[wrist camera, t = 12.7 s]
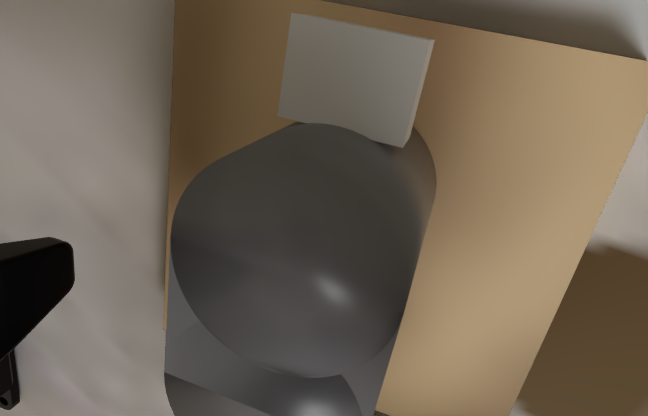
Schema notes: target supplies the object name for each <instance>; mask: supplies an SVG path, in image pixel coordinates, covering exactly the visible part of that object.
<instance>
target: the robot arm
mask: <svg viewBox="0 0 648 416" xmlns="http://www.w3.org/2000/svg"><path fill="white" fill-rule="evenodd" d="M74 281H75V273H74V256H73V248H72V246H71V245H70V244H69V243H67V242H65V241H62V240H59V239H56V238H53V237H46V238H38V239H31V240H24V241H16V242H9V243H2V244H0V407H1V408H3V409H6V410H11V409H12V408H13V407H14V406H16V405H17V404H18V403H19V402H20V396H19V389H18V381H17V373H16V366H15V358H14V350H13V349H14V348H15V347H16V346H17V345H18V344H19V343H20V342H21V341H22V340H23V339H24V338H25V337H26V336H27V335H28V334H29V333H30V332H31V331H32V330H33V329H34V328H35V326H36V325H37V324H38V323H39V322H40V321H41V320H42V319H43V318H44V317H45V316H46V315H47V314H48V313H49V312H50V311H51V310H52V309H53V308H54V307H55V306H56V305H57V304H58V303H59V302H60V301H61V300H62V299H63V298H64V297H65V296H66V294H67V293H68V292H69V291H70V290H71V288H72V287H73V284H74Z"/></svg>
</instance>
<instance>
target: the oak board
mask: <svg viewBox="0 0 648 416" xmlns="http://www.w3.org/2000/svg"><path fill="white" fill-rule="evenodd" d="M291 13H298V14H307V15H313V16H318V17H323V18H328V19H333V20H338V21H343V22H348V23H353V24H358V25H363V26H368V27H373V28H378V29H383V30H388V31H393V32H398V33H403V34H408V35H413V36H418V37H423V38H428V39H433V40H435V41H434V45H433V49H432V53H431V57H430V61H429V65H428V68H427V72H426V76H425V80H424V84H423V88H422V92H421V96H420V99H419V103H418V107H417V111H416V115H415V119H414V123H413V127H414V128H415V129H416V130H417V131H418V132H419V134H420V135H421V137H422V138H423V139H424V141H425V142H426V144H427V146H428V148H429V150H430V152H431V155H432V158H433V161H434V165H435V170H436V181H437V184H436V194H435V199H434V203H433V207H432V211H431V214H430V218H429V222H428V226H427V229H426V233H425V237H424V240H423V244H422V248H421V252H420V255H419V259H418V263H417V266H416V270H415V274H414V278H413V281H412V285H411V289H410V292H409V296H408V300H407V304H406V307H405V311H404V315H403V318H402V321H401V325H400V328H399V331H398V335H397V338H396V341H395V345H394V348H393V351H392V355H391V358H390V361H389V365H388V368H387V371H386V375H385V378H384V381H383V385H382V388H381V391H380V394H379V398H378V401H377V404H376V408H375V410H376V411H379V412H382V413H384V414H387V415H389V416H509V414H510V412H511V409H512V407H513V405H514V403H515V401H516V398H517V396H518V394H519V392H520V390H521V388H522V385H523V383H524V381H525V379H526V377H527V374H528V372H529V370H530V368H531V366H532V363H533V361H534V359H535V357H536V355H537V353H538V350H539V348H540V346H541V344H542V341H543V340H544V337H545V335H546V333H547V331H548V329H549V326H550V324H551V322H552V320H553V318H554V316H555V313H556V311H557V309H558V307H559V305H560V303H561V300H562V298H563V296H564V293H565V292H566V289H567V287H568V285H569V283H570V280H571V279H572V276H573V274H574V272H575V270H576V267H577V265H578V263H579V261H580V259H581V257H582V255H583V252H584V250H585V248H586V246H587V244H588V242H589V239H590V237H591V235H592V233H593V231H594V228H595V226H596V224H597V222H598V220H599V218H600V215H601V213H602V211H603V209H604V207H605V204H606V202H607V200H608V198H609V196H610V194H611V191H612V189H613V187H614V185H615V183H616V180H617V178H618V176H619V174H620V172H621V170H622V167H623V165H624V163H625V161H626V159H627V157H628V154H629V152H630V150H631V148H632V146H633V143H634V141H635V139H636V137H637V135H638V133H639V130H640V128H641V126H642V124H643V122H644V119H645V117H646V115H647V113H648V61H644V60H639V59H634V58H628V57H623V56H618V55H612V54H607V53H602V52H596V51H591V50H585V49H580V48H575V47H569V46H564V45H559V44H553V43H548V42H543V41H537V40H532V39H527V38H521V37H516V36H510V35H505V34H500V33H494V32H489V31H484V30H478V29H473V28H468V27H462V26H457V25H451V24H446V23H441V22H435V21H430V20H425V19H419V18H414V17H409V16H403V15H398V14H392V13H387V12H382V11H376V10H371V9H366V8H360V7H355V6H350V5H344V4H339V3H333V2H328V1H323V0H175V23H174V51H173V78H172V105H171V133H170V160H169V187H168V215H167V242H166V269H165V297H164V324H163V330H166V324H167V301H168V279H169V256H170V235H171V226H172V220H173V216H174V212H175V209H176V207H177V204H178V202H179V199H180V197H181V195H182V194H183V192H184V191H185V189H186V187H187V186H188V184H189V183H190V182H191V181H192V180H193V179H194V177H195V176H196V175H197V174H198V173H200V172H201V171H202V170H203V169H204V168H206V167H207V166H208V165H210V164H211V163H213V162H215V161H216V160H218V159H220V158H222V157H224V156H226V155H228V154H230V153H232V152H234V151H236V150H238V149H240V148H243V147H245V146H247V145H249V144H251V143H253V142H255V141H257V140H259V139H261V138H263V137H265V136H267V135H269V134H271V133H273V132H276V131H278V130H280V129H282V128H284V127H286V126H288V125H290V124H292V123H294V122H296V121H295V120H291V119H287V118H283V117H279V116H277V115H278V108H279V100H280V93H281V86H282V78H283V71H284V63H285V56H286V48H287V41H288V34H289V26H290V19H291Z"/></svg>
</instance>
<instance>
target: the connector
mask: <svg viewBox="0 0 648 416" xmlns="http://www.w3.org/2000/svg"><path fill="white" fill-rule="evenodd" d="M434 41H435V40H433V39H428V38H423V37H418V36H413V35H408V34H403V33H398V32H393V31H388V30H383V29H378V28H373V27H368V26H363V25H358V24H353V23H348V22H343V21H338V20H333V19H328V18H323V17H318V16H313V15H307V14H298V13H291V19H290V26H289V34H288V41H287V48H286V56H285V63H284V71H283V78H282V86H281V93H280V100H279V108H278V115H277V116H279V117H283V118H287V119H291V120H295V121H296V122H294V123H292V124H290V125H288V126H286V127H284V128H282V129H280V130H278V131H276V132H273V133H271V134H269V135H267V136H265V137H263V138H261V139H259V140H257V141H255V142H253V143H251V144H249V145H247V146H245V147H243V148H240V149H238V150H236V151H234V152H232V153H230V154H228V155H226V156H224V157H222V158H220V159H218V160H216V161H215V162H213V163H211V164H210V165H208V166H207V167H206V168H204V169H203V170H202V171H201V172H200V173H198V174H197V175H196V176H195V177H194V179H193V180H192V181H191V182H190V183H189V184H188V186H187V187H186V189H185V191H184V192H183V194H182V195H181V197H180V199H179V202H178V204H177V207H176V209H175V212H174V216H173V220H172V226H171V235H170V256H169V279H168V301H167V324H166V346H165V369H164V377H165V387H166V393H167V396H168V400H169V403H170V406H171V408H172V410H173V413H174V415H175V416H373V414H374V411H375V408H376V404H377V401H378V398H379V394H380V391H381V388H382V385H383V381H384V378H385V375H386V371H387V368H388V365H389V361H390V358H391V355H392V351H393V348H394V345H395V341H396V338H397V335H398V331H399V328H400V325H401V321H402V318H403V315H404V311H405V307H406V304H407V300H408V296H409V292H410V289H411V285H412V281H413V278H414V274H415V270H416V266H417V263H418V259H419V255H420V252H421V248H422V244H423V240H424V237H425V233H426V229H427V226H428V222H429V218H430V214H431V211H432V207H433V203H434V199H435V194H436V184H437V181H436V170H435V165H434V161H433V158H432V155H431V152H430V150H429V148H428V146H427V144H426V142H425V141H424V139H423V138H422V137H421V135H420V134H419V132H418V131H417V130H416V129H415V128H414V127H413V123H414V119H415V115H416V111H417V107H418V103H419V99H420V96H421V92H422V88H423V84H424V80H425V76H426V72H427V68H428V65H429V61H430V57H431V53H432V49H433V45H434Z"/></svg>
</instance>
